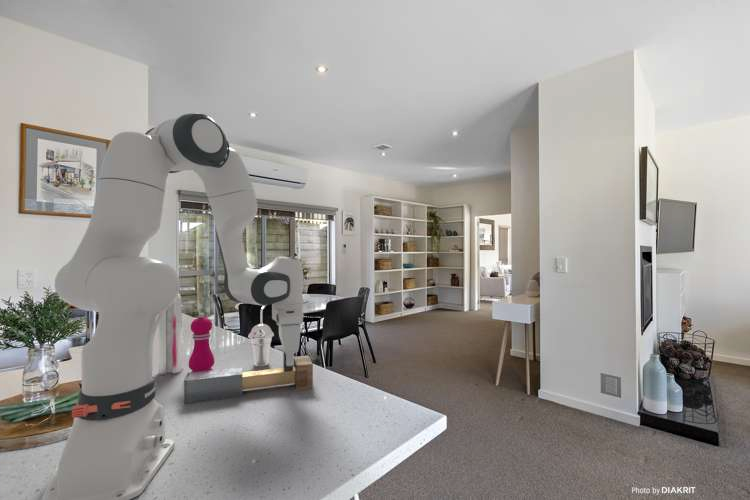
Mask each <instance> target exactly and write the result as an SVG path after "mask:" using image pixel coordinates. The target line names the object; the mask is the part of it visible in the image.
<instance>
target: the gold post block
mask: <svg viewBox="0 0 750 500" xmlns="http://www.w3.org/2000/svg"><path fill="white" fill-rule="evenodd" d="M282 357H283V358H282V367H279V368H270V369H269V368H268V369H263V370H253V371H242V391H245V390H246V391H247V390H253V389H261V388H268V387H276V386H277V387H278V386H283V385H291V384H295V383H296V368H295V367H293V365H292V366H287V365H286V353H285V352H284V349H283V348H282Z"/></svg>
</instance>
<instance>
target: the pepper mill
mask: <svg viewBox="0 0 750 500" xmlns="http://www.w3.org/2000/svg"><path fill="white" fill-rule="evenodd" d="M197 316H198V317H197V318H195V319H194V320H193V321H192V322H191V323H190V331H191V332H192V333H193V334H192V339H193V340H194V341H193V342H194V344H193V350H192V351H191V354H190V356H189V360H188V368H189V369H190V370H191V372H200V371H209V370H214V369H213V366H214V365H215V357H214V354H213V352H212V349H211V347H210V338H211V332H210V331H211V330H212V328H213V322H212V320H211V319H210V318H208V317H205V313H204V312H199V313H198V315H197Z"/></svg>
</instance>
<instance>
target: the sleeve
mask: <svg viewBox="0 0 750 500" xmlns="http://www.w3.org/2000/svg"><path fill="white" fill-rule="evenodd" d="M242 372H243V366H239V367H229V368H220V369H213V370H209V371H200V372H192V371H191V372H187V374H186V376H185V378H184V381H183V404H184V405H186V404H194V403H195V404H196V403H200V402H208V401H218V400H224V399H232V398H240V397H243V390H242Z"/></svg>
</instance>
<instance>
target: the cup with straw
mask: <svg viewBox="0 0 750 500" xmlns="http://www.w3.org/2000/svg"><path fill="white" fill-rule="evenodd" d="M266 306H267V305H265V306H262V307H261V308H260V314H259V315H260V317H259V318H260V323H258V324H256V325H254V326H253V327H252V328H251V331H250V333H249V334H248V336H247V338H248V339H250V343H251V344H250V345H251V348H252V355H253V356H252V357H253V364H254V367H264V366H267V365H268V364H269V359H270V350H271V343H272V338H273V337H274V336H275V334H274V332H273V331H272V328H271V327H270V325H269V324H267V323H263V322H264V321H263V317H264V316H263V312H264V311H263V310H264V309H265V308H266Z"/></svg>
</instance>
